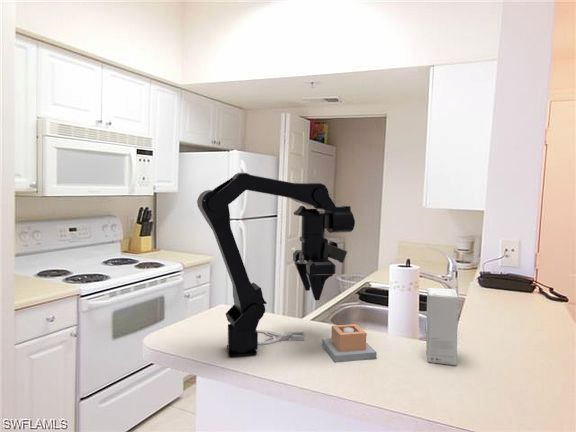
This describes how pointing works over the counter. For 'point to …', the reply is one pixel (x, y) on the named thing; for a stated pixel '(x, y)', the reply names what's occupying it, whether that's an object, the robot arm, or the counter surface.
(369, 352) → the grey peg base
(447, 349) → the skincare box
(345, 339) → the collar
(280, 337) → the pliers
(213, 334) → the counter surface
